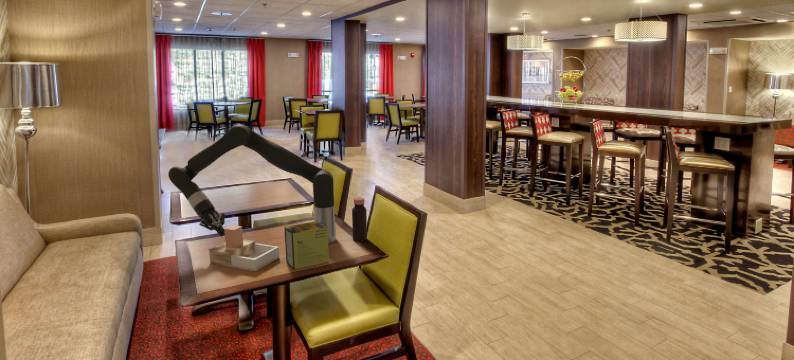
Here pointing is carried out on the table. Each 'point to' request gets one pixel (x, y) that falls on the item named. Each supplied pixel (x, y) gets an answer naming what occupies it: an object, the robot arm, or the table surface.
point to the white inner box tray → (256, 258)
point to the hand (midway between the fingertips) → (223, 235)
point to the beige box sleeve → (230, 252)
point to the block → (233, 236)
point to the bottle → (359, 220)
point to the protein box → (306, 244)
